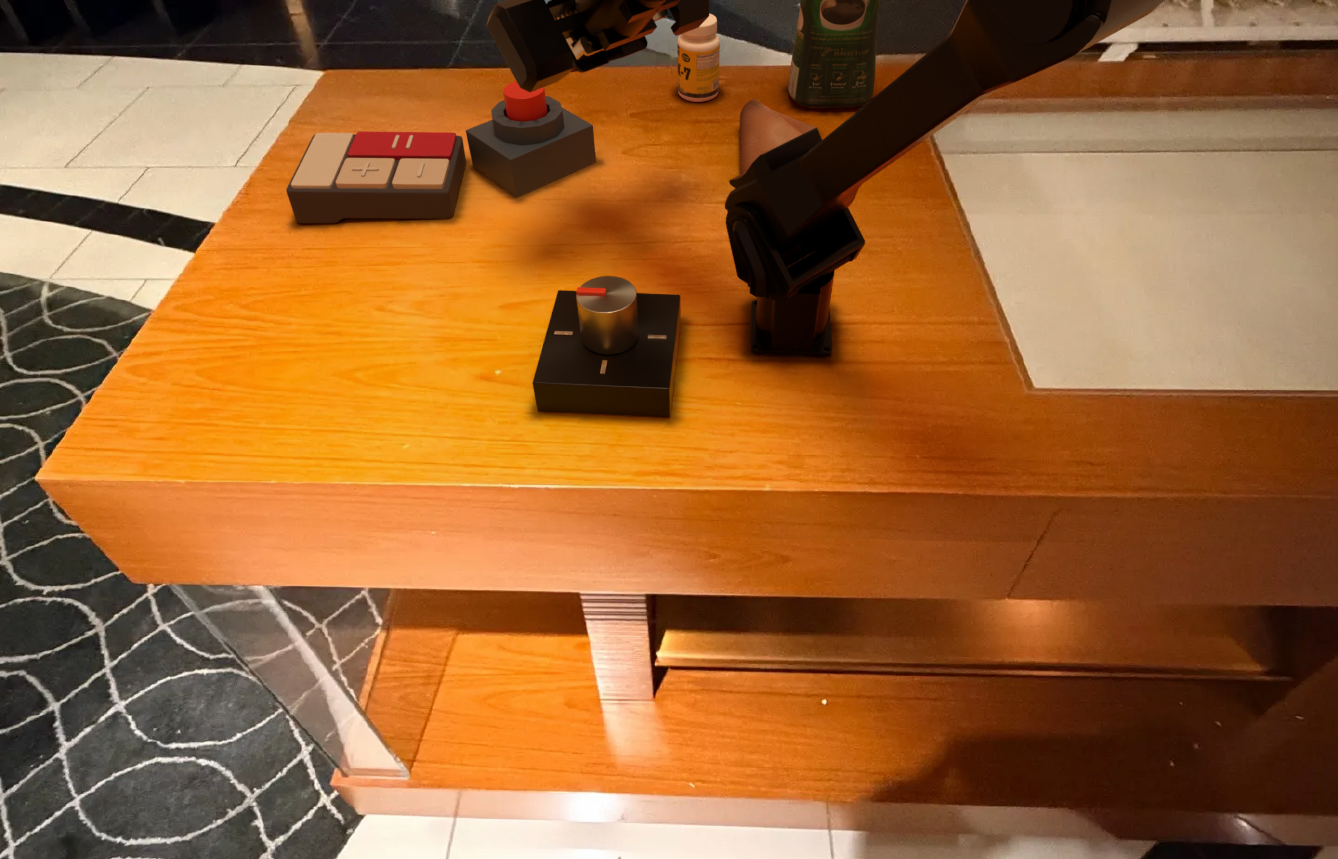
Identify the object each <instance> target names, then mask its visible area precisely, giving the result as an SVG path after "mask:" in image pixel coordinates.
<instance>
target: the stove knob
mask: <svg viewBox="0 0 1338 859" xmlns="http://www.w3.org/2000/svg"><path fill="white" fill-rule="evenodd" d="M575 291H576V293H577V295H576V298H577V307H578V315H579V323H580V331H581V339H582V342H583V344H584V345H585V346H586V347H587V348H588V349H589V350H591V351H593V352H595V353H599V354H606V355H611V354H618V353H622V352H624V351H626V350H628V349H630V348H631V347H632V346H634V344H635V343H636V342H637V340H638V337H639V327H638V310H637V293H638V292H637V289H636V287H635V285H634V284H633V283H632V282H631V281H629V280H628V279H626V278H623V277H620V276H615V275H601V276H597V277H593V278H590V279H589V280H587V281H584V282H583V283H582V284H581V285H580V286H578V287H577V288H576V290H575Z"/></svg>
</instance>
